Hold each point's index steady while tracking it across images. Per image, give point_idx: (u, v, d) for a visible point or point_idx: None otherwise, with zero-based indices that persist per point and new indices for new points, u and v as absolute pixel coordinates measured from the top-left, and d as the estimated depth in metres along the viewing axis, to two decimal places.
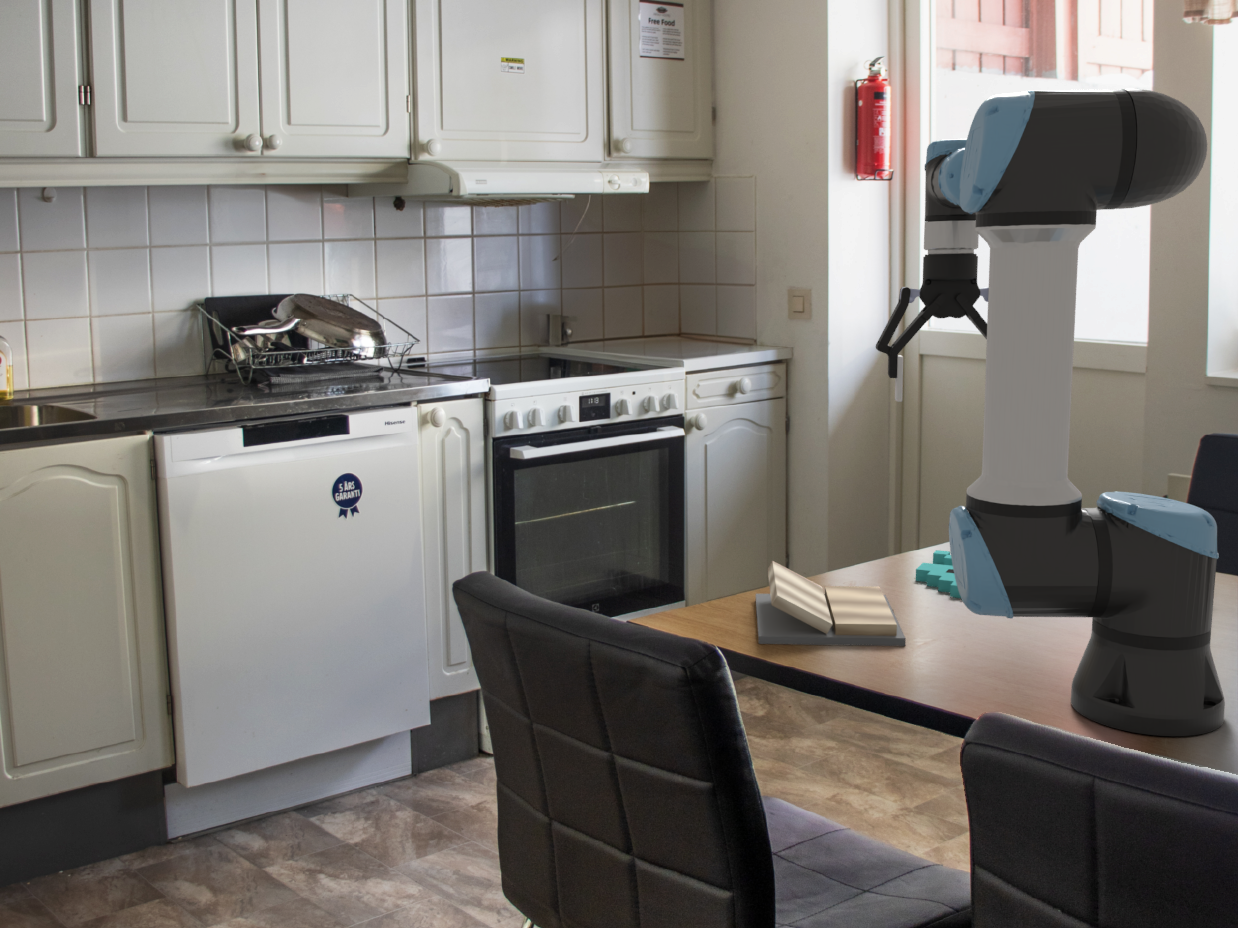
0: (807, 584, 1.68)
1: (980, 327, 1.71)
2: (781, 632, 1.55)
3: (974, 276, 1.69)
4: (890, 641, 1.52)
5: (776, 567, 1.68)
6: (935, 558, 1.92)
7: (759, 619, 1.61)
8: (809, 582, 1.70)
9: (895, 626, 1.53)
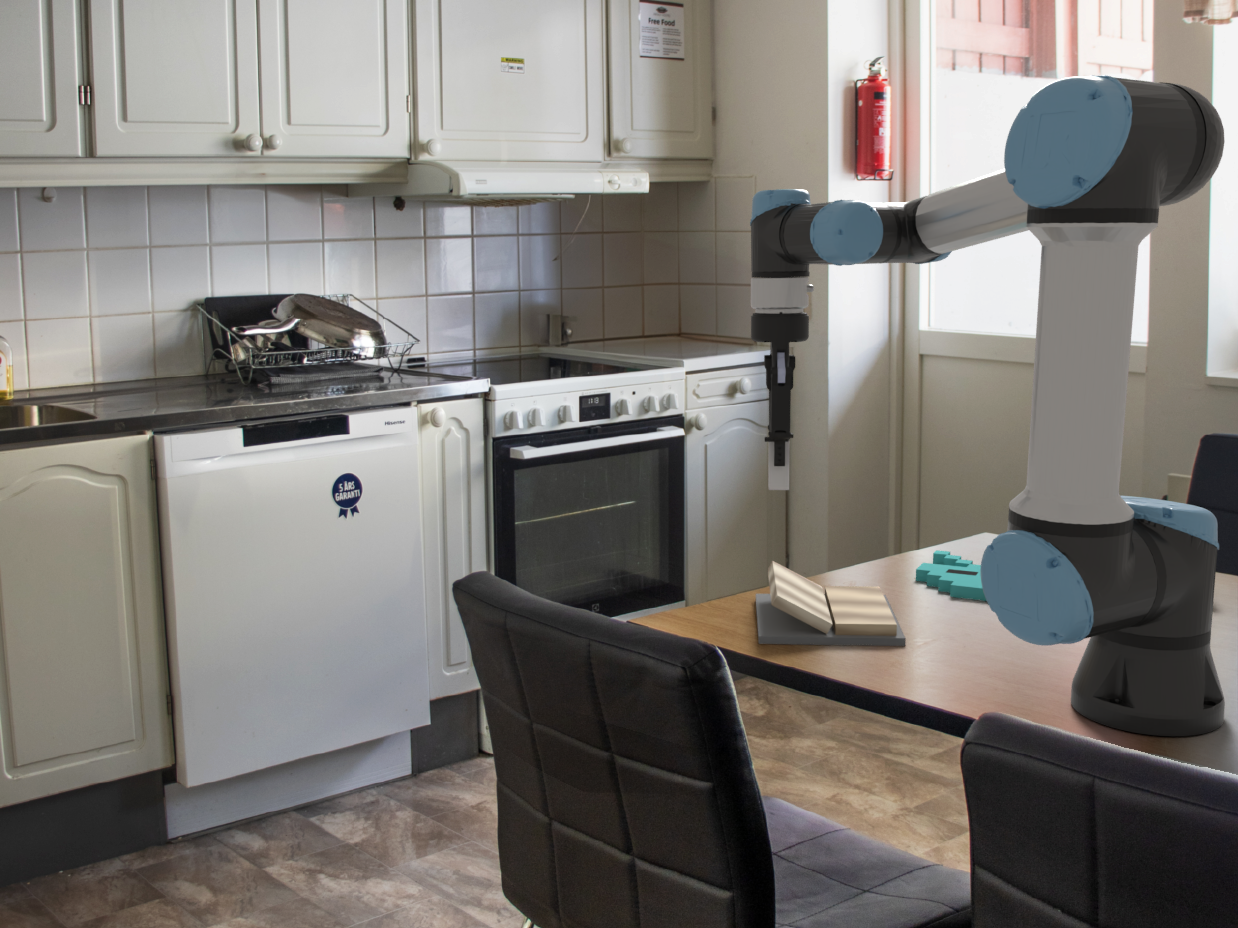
0: (807, 584, 1.68)
1: (770, 400, 1.57)
2: (781, 632, 1.55)
3: (764, 338, 1.54)
4: (890, 641, 1.52)
5: (776, 567, 1.68)
6: (935, 558, 1.92)
7: (759, 619, 1.61)
8: (809, 582, 1.70)
9: (895, 626, 1.53)
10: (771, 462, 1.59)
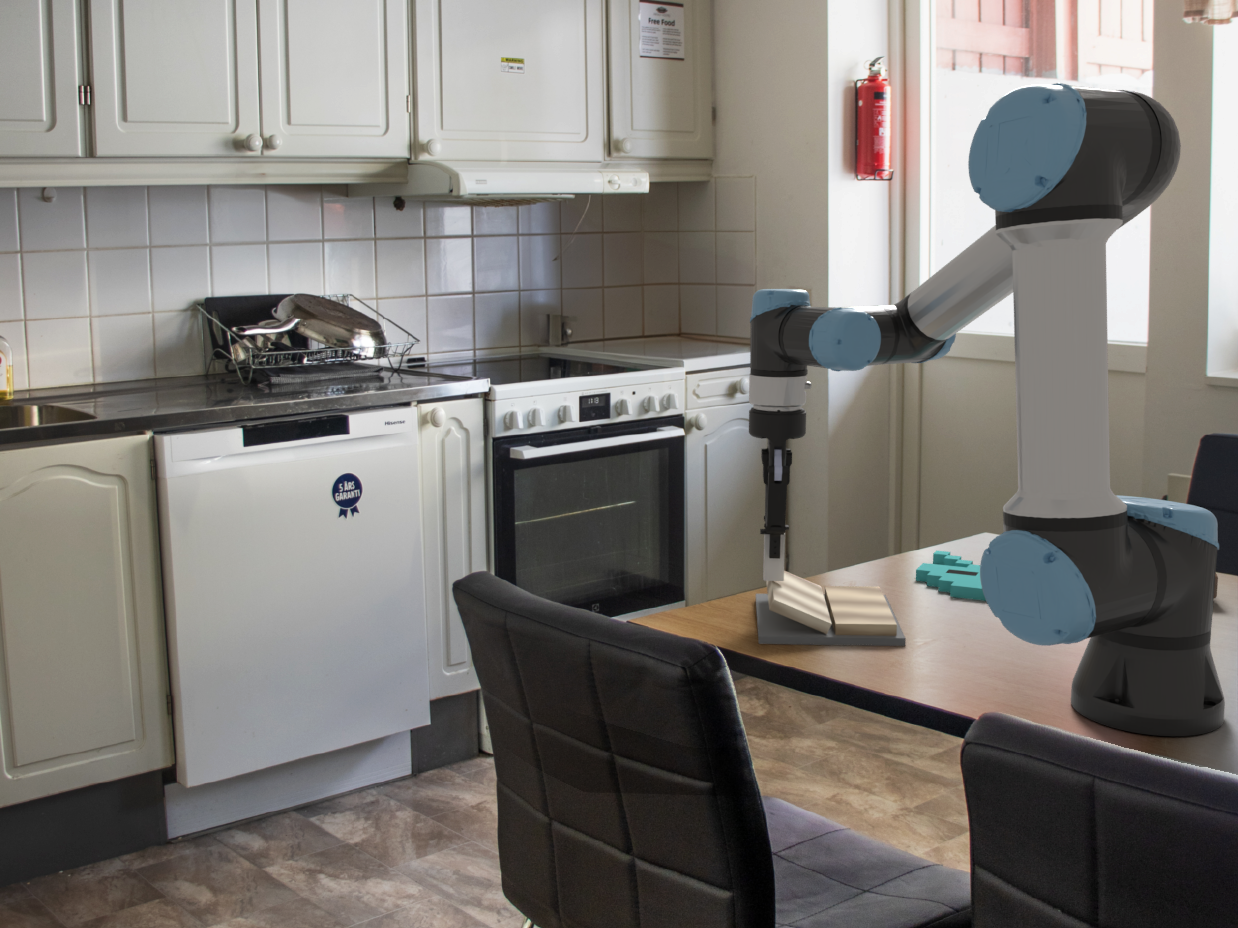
0: (805, 585, 1.68)
1: None
2: (781, 632, 1.55)
3: (761, 435, 1.56)
4: (890, 641, 1.52)
5: None
6: (935, 558, 1.92)
7: (759, 619, 1.61)
8: (808, 583, 1.70)
9: (895, 626, 1.53)
10: (766, 553, 1.61)
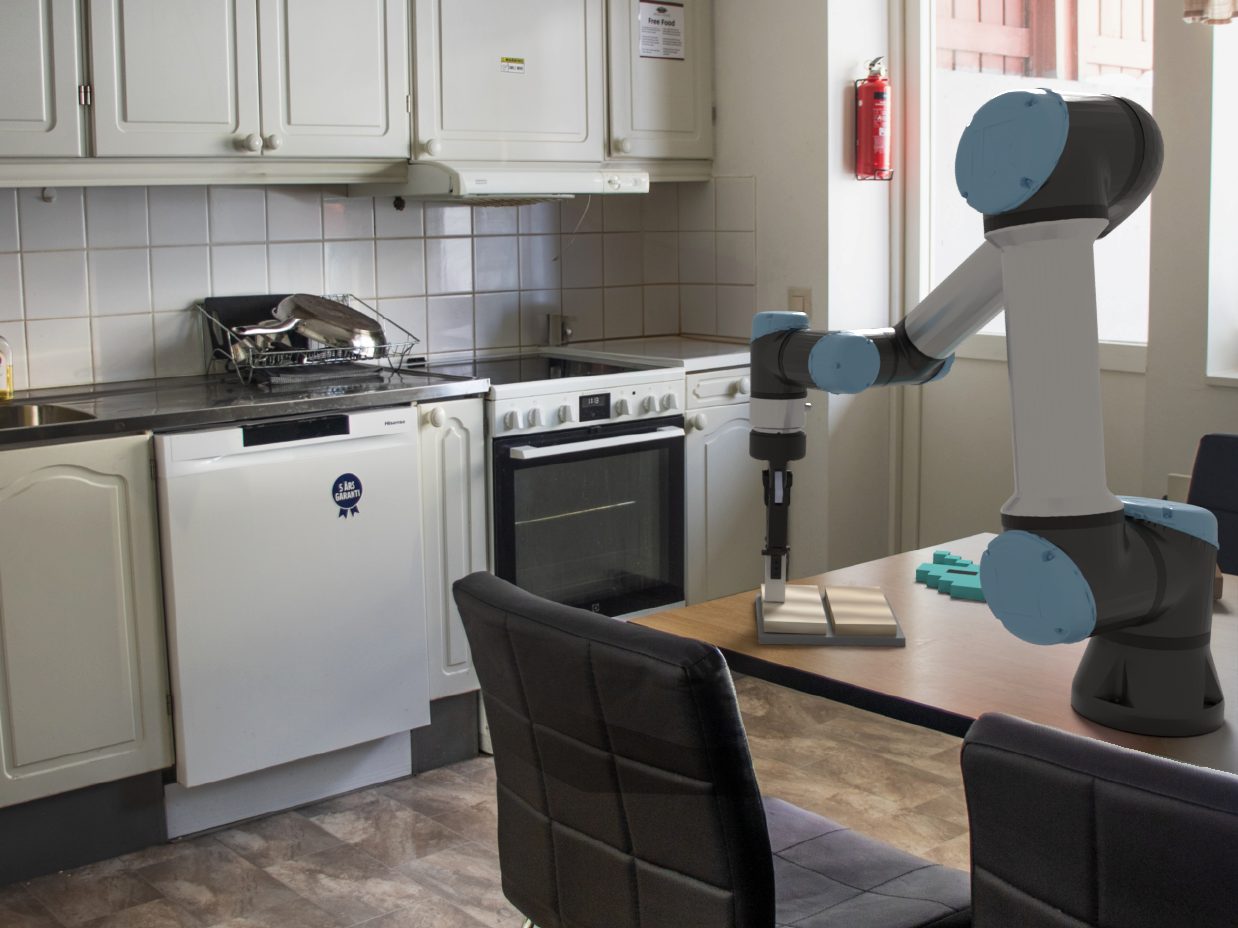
0: (800, 591, 1.68)
1: None
2: None
3: (762, 457, 1.57)
4: (890, 641, 1.52)
5: None
6: (935, 558, 1.92)
7: (759, 619, 1.61)
8: (802, 588, 1.70)
9: (895, 626, 1.53)
10: (768, 574, 1.62)
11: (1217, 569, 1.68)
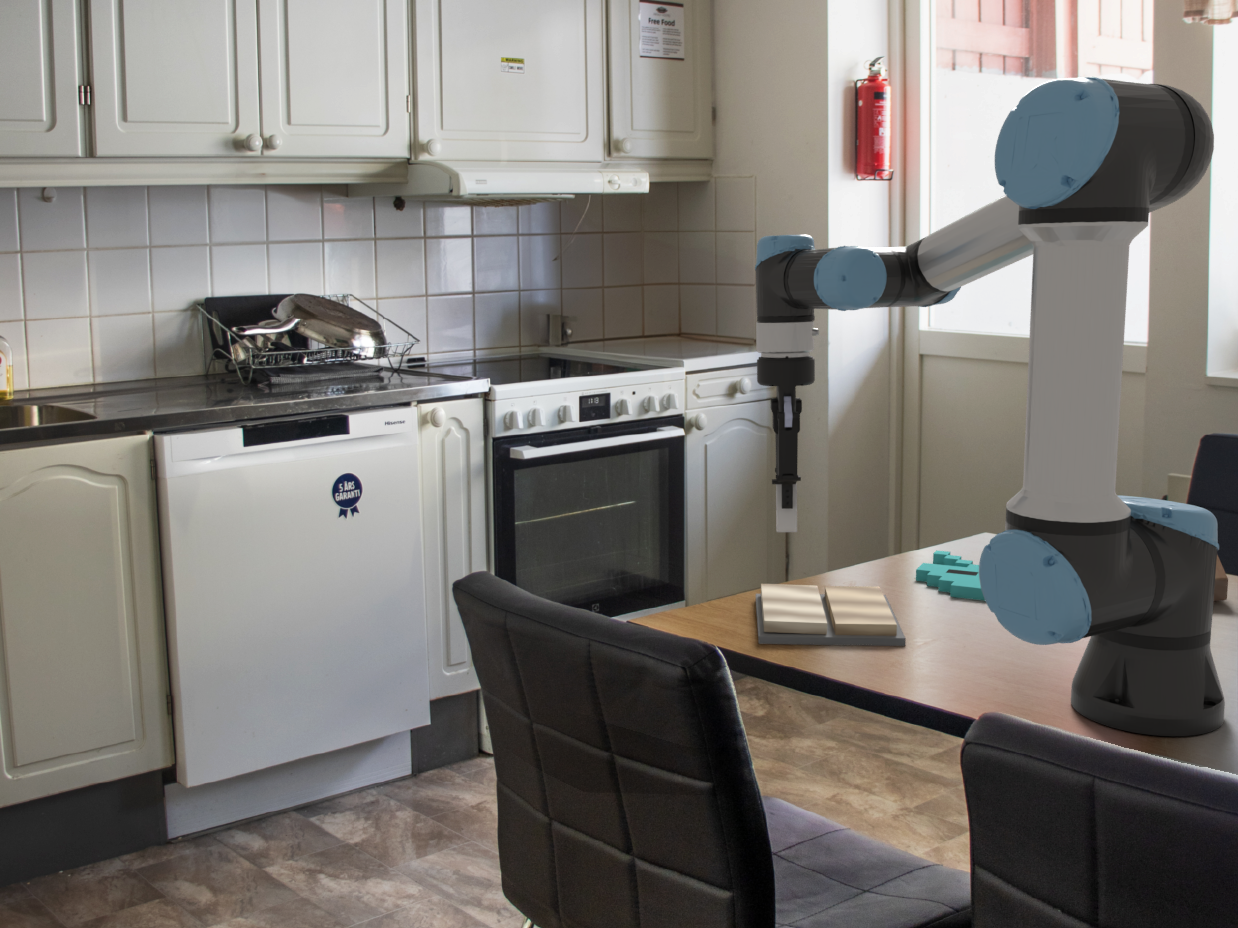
0: (800, 591, 1.68)
1: (777, 443, 1.58)
2: None
3: (770, 382, 1.55)
4: (890, 641, 1.52)
5: (765, 589, 1.69)
6: (935, 558, 1.92)
7: (759, 619, 1.61)
8: (802, 588, 1.70)
9: (895, 626, 1.53)
10: (779, 504, 1.59)
11: (1222, 570, 1.67)
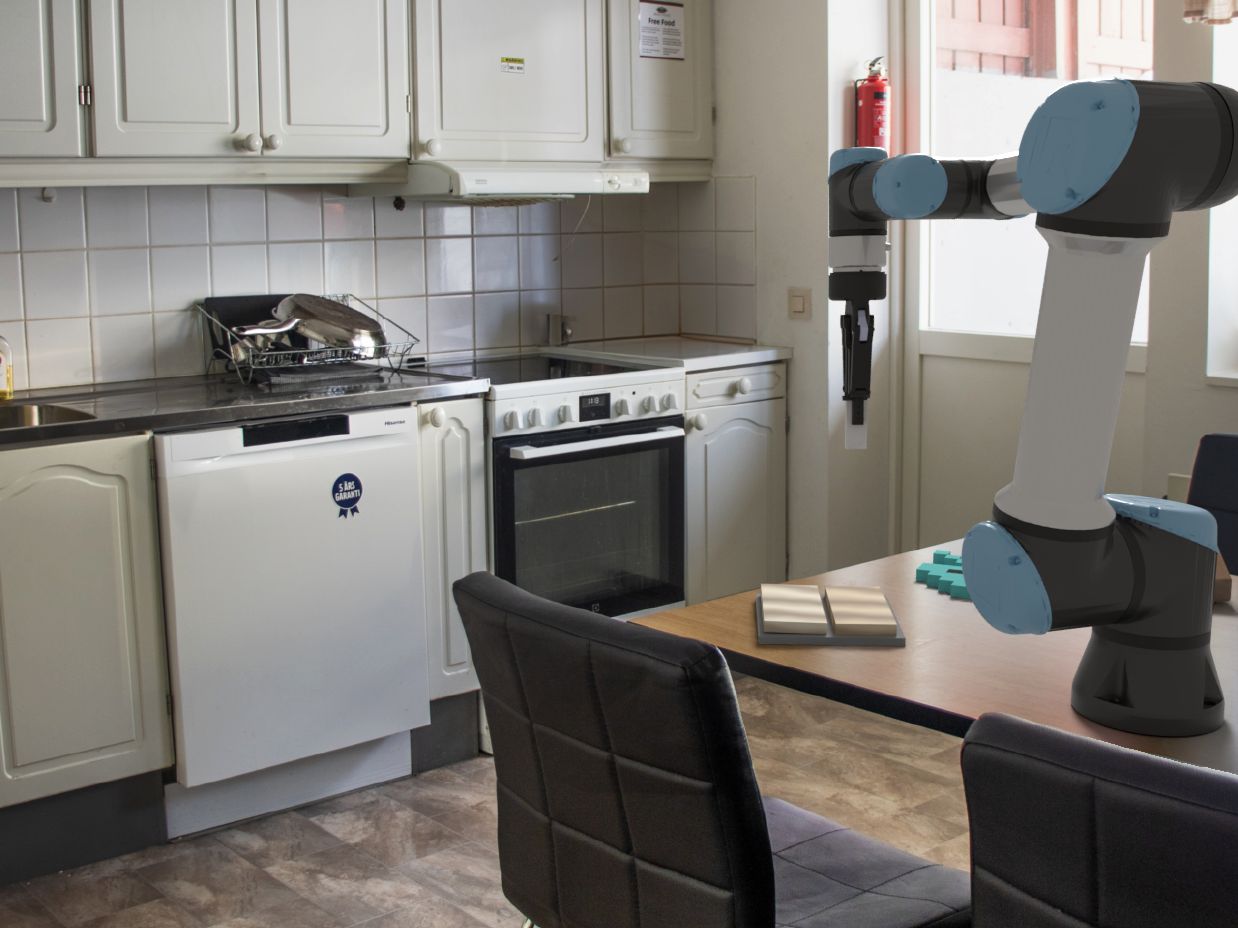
0: (800, 591, 1.68)
1: (848, 359, 1.58)
2: None
3: (843, 297, 1.54)
4: (890, 641, 1.52)
5: (765, 589, 1.69)
6: (935, 558, 1.92)
7: (759, 619, 1.61)
8: (802, 588, 1.70)
9: (895, 626, 1.53)
10: (849, 421, 1.59)
11: (1226, 571, 1.67)
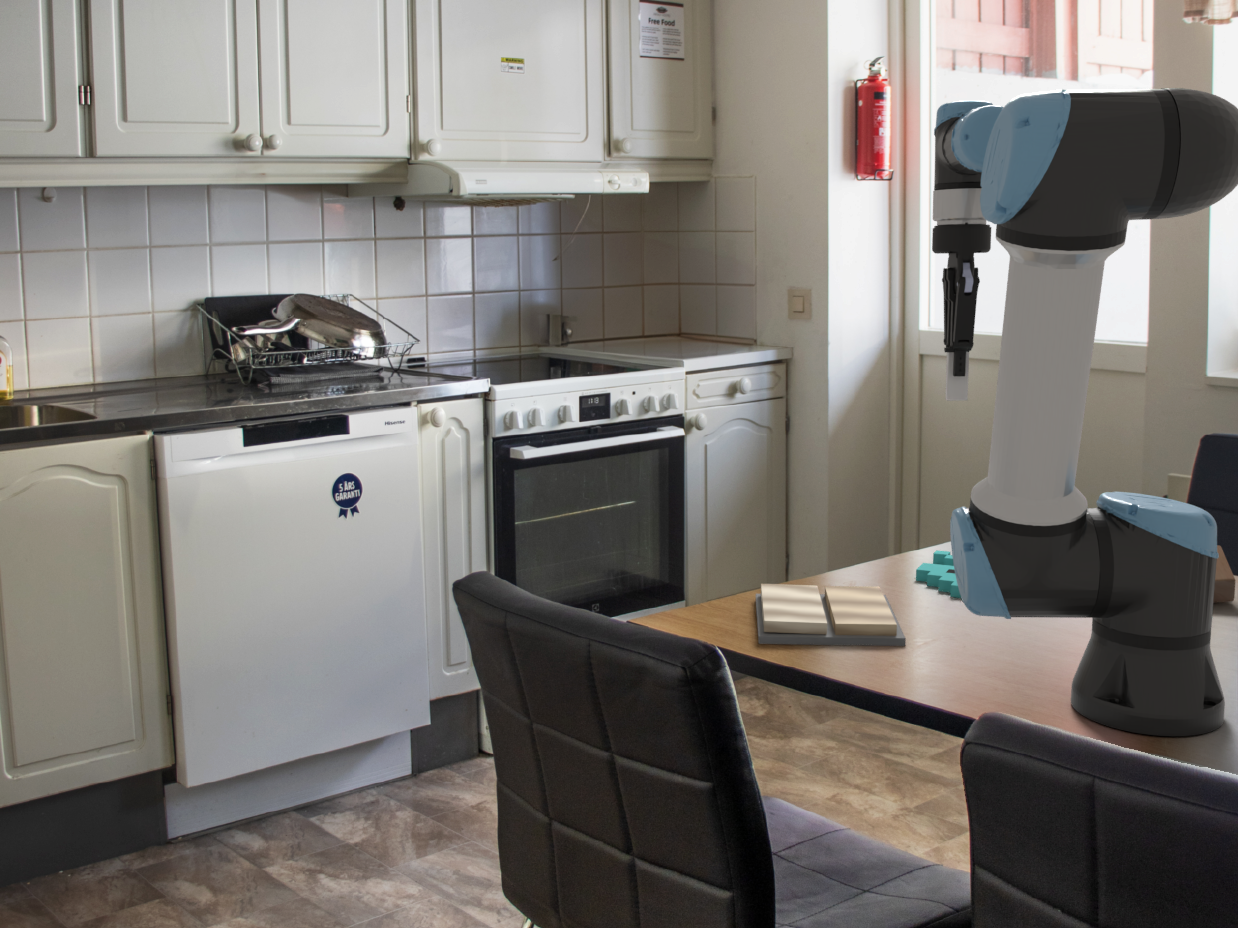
0: (800, 591, 1.68)
1: (951, 311, 1.60)
2: None
3: (948, 249, 1.57)
4: (890, 641, 1.52)
5: (765, 589, 1.69)
6: (935, 558, 1.92)
7: (759, 619, 1.61)
8: (802, 588, 1.70)
9: (895, 626, 1.53)
10: (950, 372, 1.62)
11: (1229, 571, 1.66)
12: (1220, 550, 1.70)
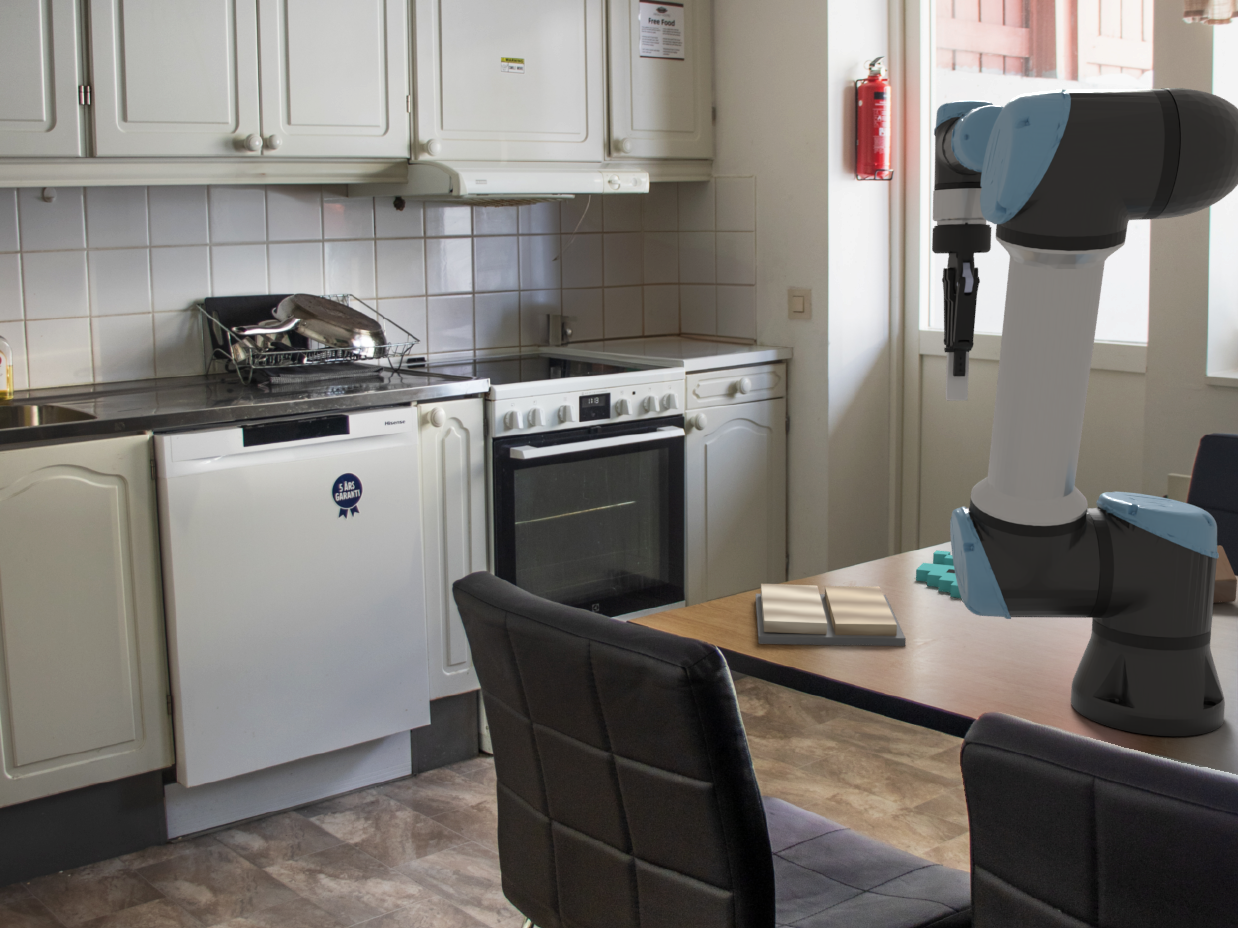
0: (800, 591, 1.68)
1: (951, 311, 1.60)
2: None
3: (948, 249, 1.57)
4: (890, 641, 1.52)
5: (765, 589, 1.69)
6: (935, 558, 1.92)
7: (759, 619, 1.61)
8: (802, 588, 1.70)
9: (895, 626, 1.53)
10: (950, 372, 1.62)
11: (1231, 571, 1.66)
12: (1222, 550, 1.70)
